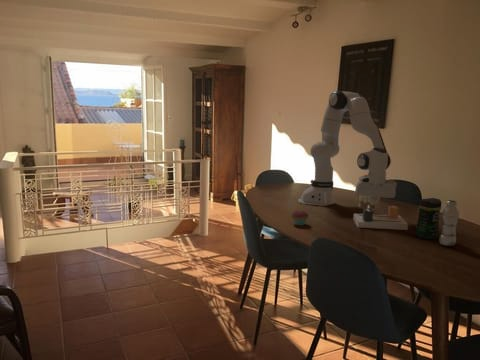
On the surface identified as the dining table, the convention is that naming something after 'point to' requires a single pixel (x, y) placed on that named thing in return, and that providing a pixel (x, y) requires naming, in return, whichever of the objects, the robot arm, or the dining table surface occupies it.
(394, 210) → the fader
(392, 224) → the console
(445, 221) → the plastic bottle
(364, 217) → the fader
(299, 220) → the cupcake
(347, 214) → the dining table surface
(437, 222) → the coffee jar
